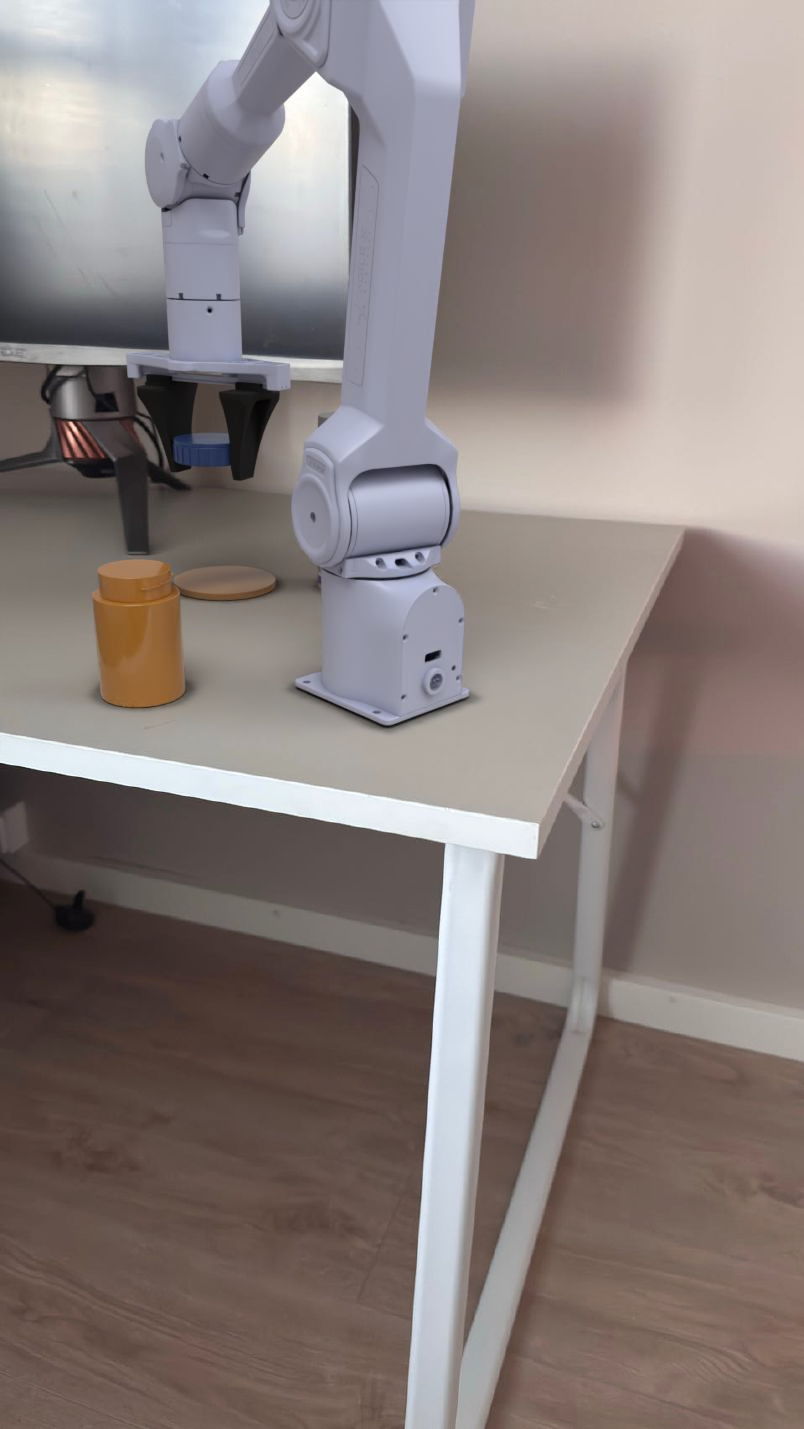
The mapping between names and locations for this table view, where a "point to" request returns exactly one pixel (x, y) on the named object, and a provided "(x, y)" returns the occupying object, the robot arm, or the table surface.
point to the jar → (138, 634)
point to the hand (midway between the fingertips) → (211, 474)
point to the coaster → (224, 582)
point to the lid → (202, 449)
